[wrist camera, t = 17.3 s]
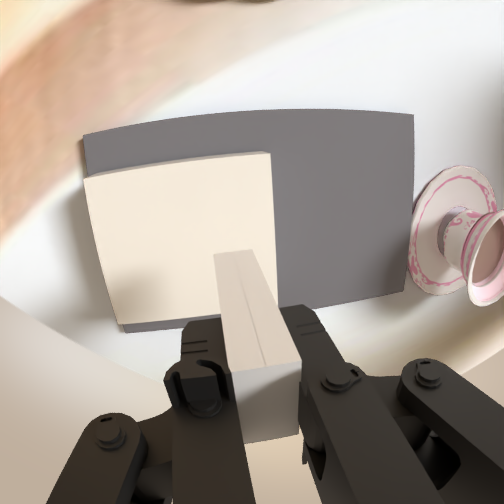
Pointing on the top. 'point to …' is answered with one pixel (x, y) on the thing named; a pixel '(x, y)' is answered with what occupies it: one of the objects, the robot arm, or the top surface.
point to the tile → (179, 231)
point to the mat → (301, 192)
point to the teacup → (459, 237)
